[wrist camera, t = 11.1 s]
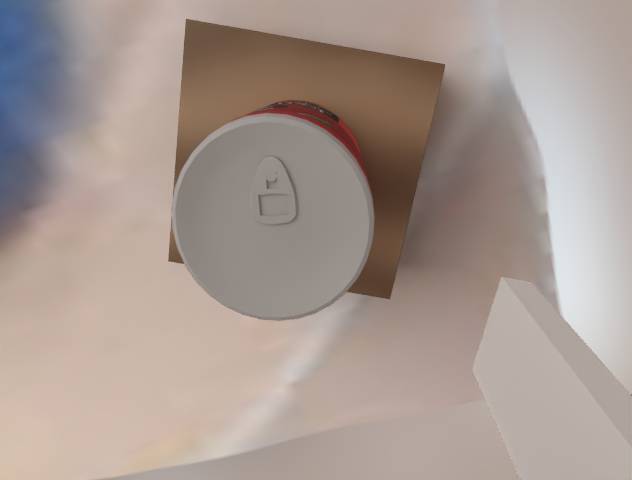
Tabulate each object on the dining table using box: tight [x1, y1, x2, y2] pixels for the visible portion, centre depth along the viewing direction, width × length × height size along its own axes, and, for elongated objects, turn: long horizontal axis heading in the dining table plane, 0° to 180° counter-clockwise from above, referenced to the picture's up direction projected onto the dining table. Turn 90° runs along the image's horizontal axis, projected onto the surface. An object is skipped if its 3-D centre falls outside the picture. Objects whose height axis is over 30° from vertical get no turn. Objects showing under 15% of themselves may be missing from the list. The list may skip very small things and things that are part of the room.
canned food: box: [172, 100, 375, 321], centre depth 23 cm, size 8×8×11 cm
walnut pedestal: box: [168, 19, 445, 299], centre depth 32 cm, size 14×14×6 cm
